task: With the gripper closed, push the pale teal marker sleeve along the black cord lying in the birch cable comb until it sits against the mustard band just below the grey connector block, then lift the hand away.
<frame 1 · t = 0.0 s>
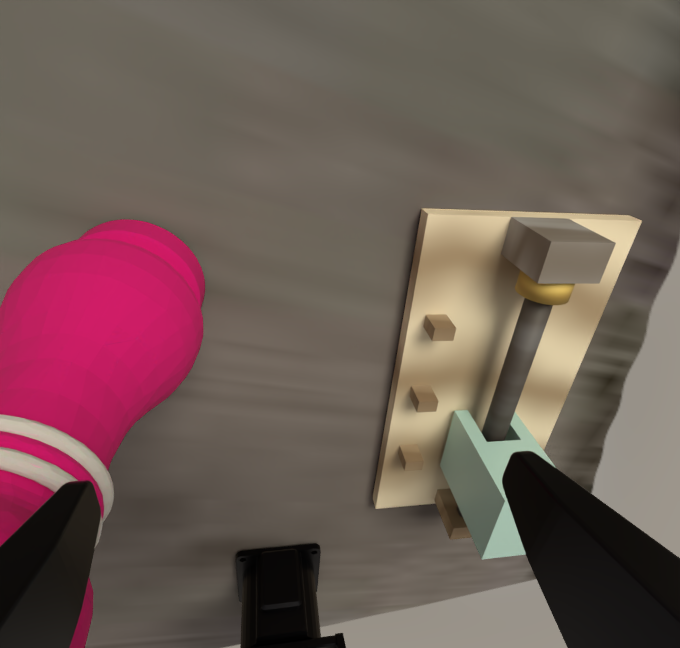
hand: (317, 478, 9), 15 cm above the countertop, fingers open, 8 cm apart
comb board: (480, 378, 29), on the countertop
pepper mill: (141, 278, 22), on the countertop, touching gripper
sleeve: (498, 477, 27), point 5 cm above the countertop, slide at 0.0 cm
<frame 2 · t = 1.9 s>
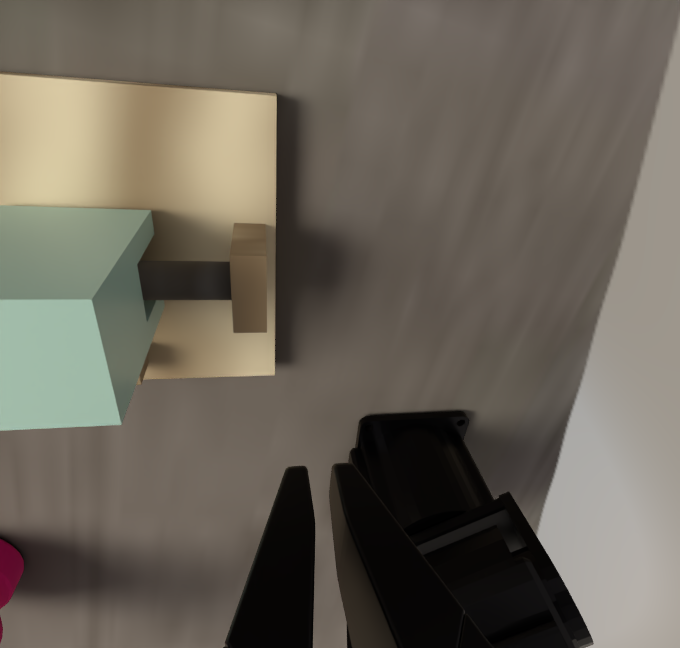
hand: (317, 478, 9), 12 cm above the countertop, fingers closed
sleeve: (52, 303, 14), point 5 cm above the countertop, slide at 0.0 cm
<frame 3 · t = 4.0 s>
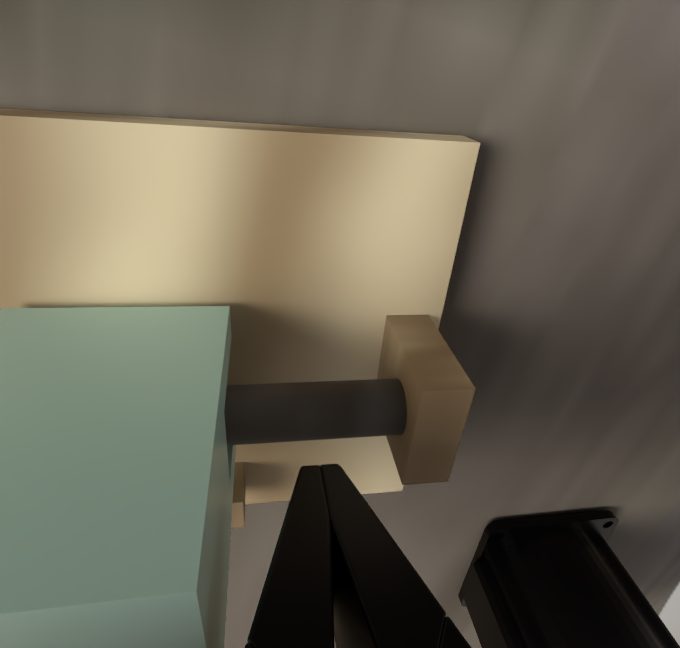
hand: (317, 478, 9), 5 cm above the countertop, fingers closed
comb board: (38, 348, 12), on the countertop
sleeve: (93, 482, 9), point 5 cm above the countertop, slide at 1.2 cm, touching gripper
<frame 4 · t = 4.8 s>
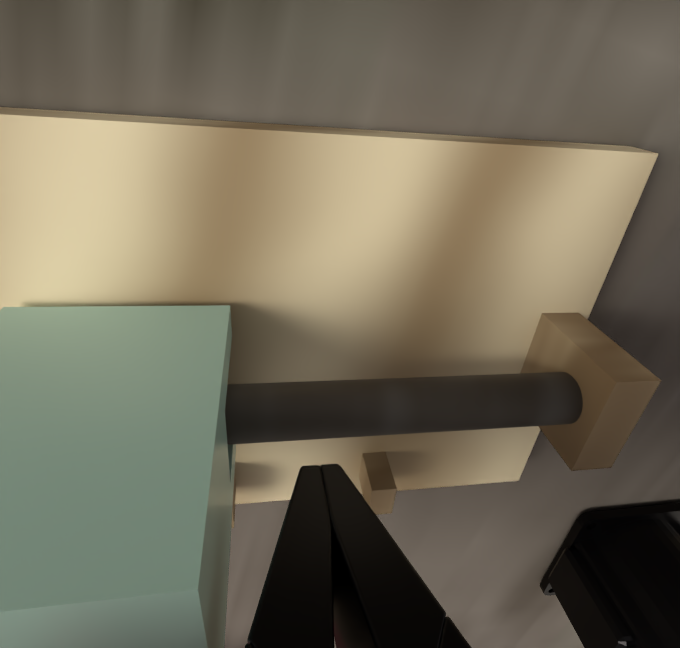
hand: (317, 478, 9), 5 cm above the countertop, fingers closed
comb board: (215, 343, 13), on the countertop
sleeve: (94, 480, 9), point 5 cm above the countertop, slide at 5.9 cm, touching gripper
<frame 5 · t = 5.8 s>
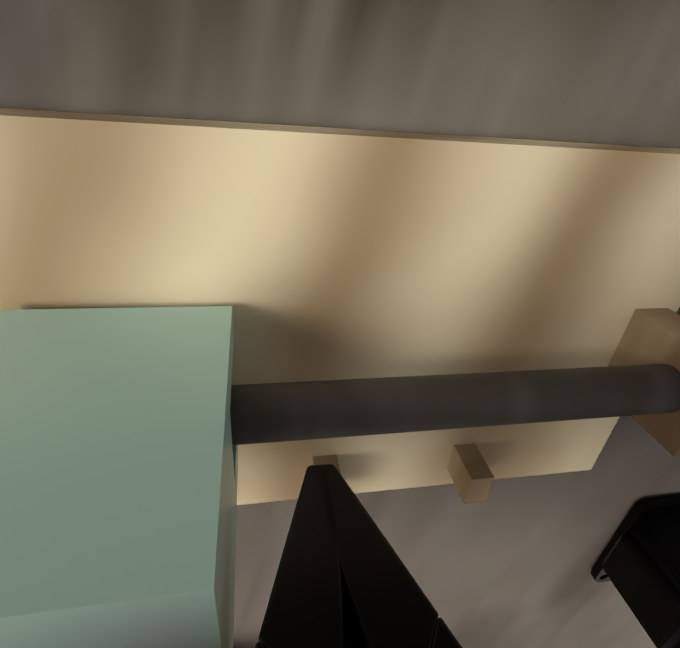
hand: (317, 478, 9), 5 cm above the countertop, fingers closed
comb board: (327, 341, 13), on the countertop
sleeve: (99, 483, 9), point 5 cm above the countertop, slide at 9.2 cm, touching comb board, gripper
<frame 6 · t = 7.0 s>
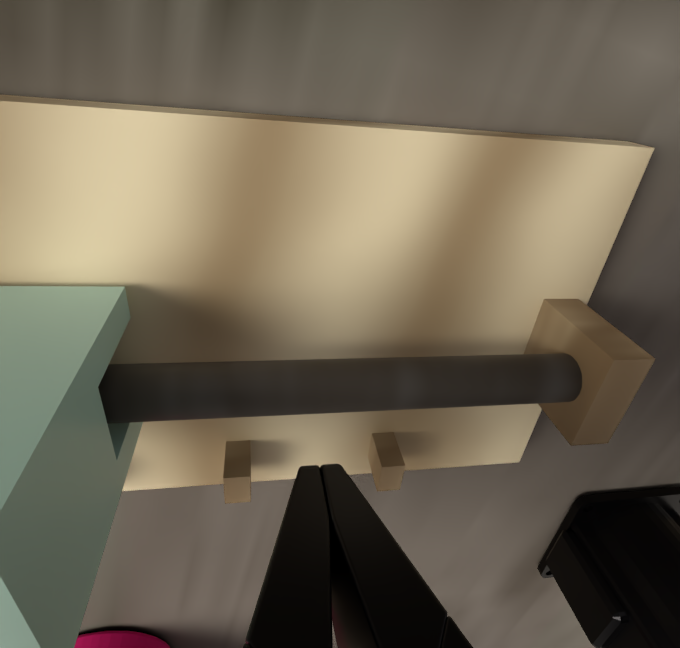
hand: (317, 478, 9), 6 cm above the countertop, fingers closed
comb board: (235, 326, 14), on the countertop
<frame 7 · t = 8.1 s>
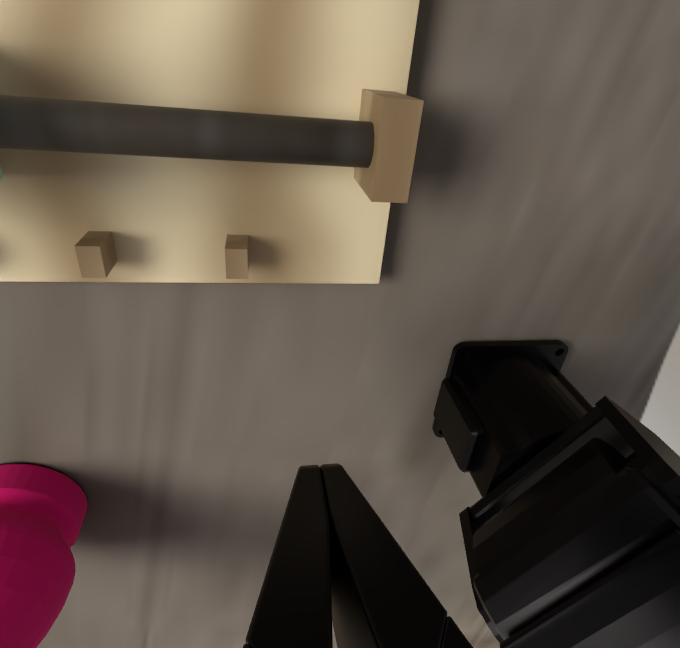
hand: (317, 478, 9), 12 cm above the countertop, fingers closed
comb board: (86, 112, 15), on the countertop
pepper mill: (27, 498, 24), on the countertop
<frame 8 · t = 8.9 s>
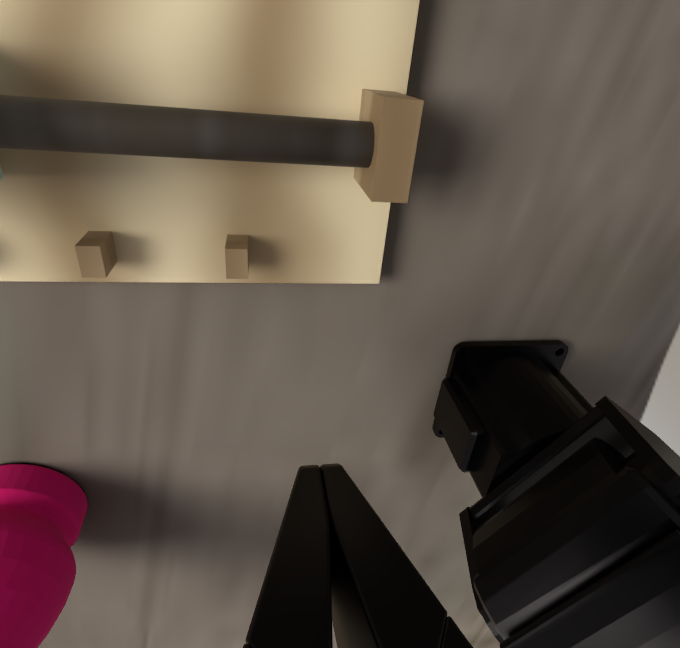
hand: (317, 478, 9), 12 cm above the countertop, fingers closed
comb board: (86, 112, 15), on the countertop
pepper mill: (27, 498, 24), on the countertop
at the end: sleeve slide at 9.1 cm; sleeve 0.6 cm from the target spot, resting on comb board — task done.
